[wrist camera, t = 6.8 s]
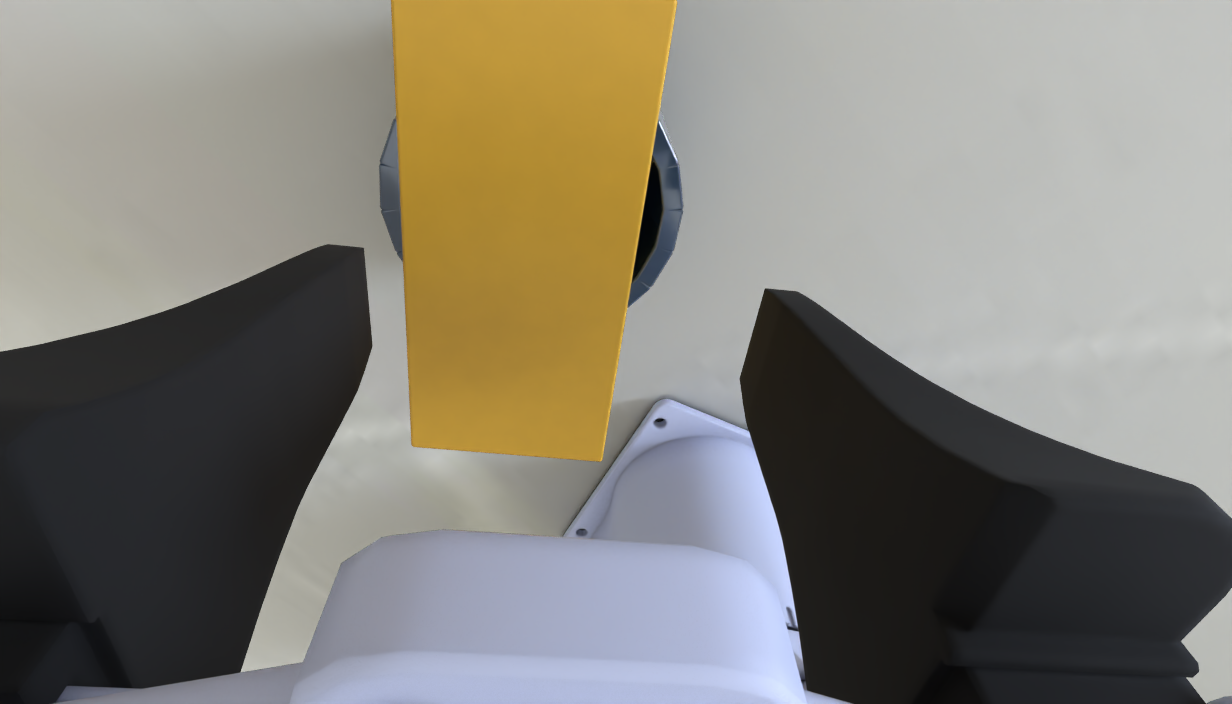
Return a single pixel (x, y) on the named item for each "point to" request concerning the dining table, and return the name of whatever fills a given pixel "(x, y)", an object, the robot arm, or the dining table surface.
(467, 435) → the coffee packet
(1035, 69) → the dining table surface
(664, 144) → the espresso cup
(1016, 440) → the robot arm
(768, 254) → the dining table surface
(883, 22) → the dining table surface
